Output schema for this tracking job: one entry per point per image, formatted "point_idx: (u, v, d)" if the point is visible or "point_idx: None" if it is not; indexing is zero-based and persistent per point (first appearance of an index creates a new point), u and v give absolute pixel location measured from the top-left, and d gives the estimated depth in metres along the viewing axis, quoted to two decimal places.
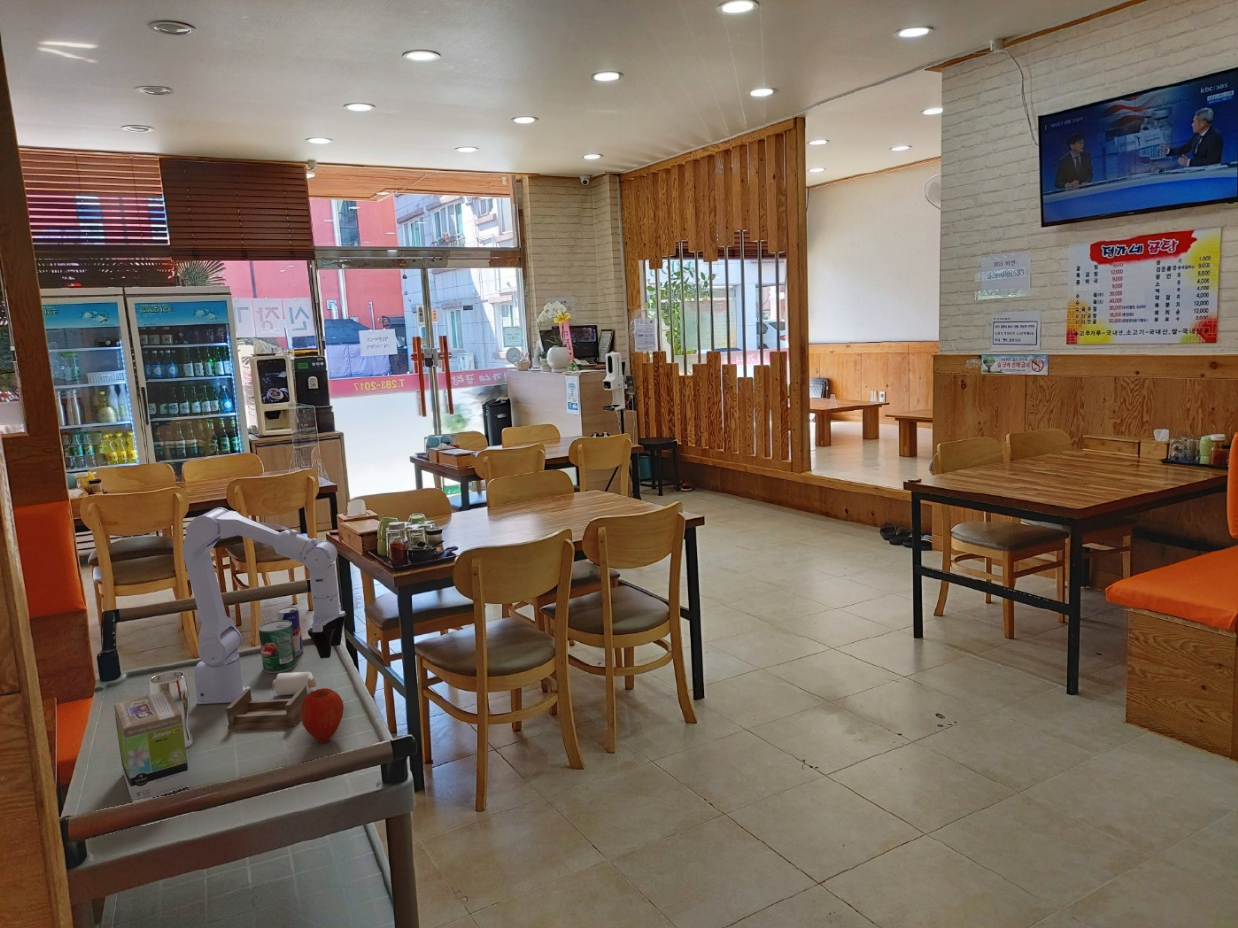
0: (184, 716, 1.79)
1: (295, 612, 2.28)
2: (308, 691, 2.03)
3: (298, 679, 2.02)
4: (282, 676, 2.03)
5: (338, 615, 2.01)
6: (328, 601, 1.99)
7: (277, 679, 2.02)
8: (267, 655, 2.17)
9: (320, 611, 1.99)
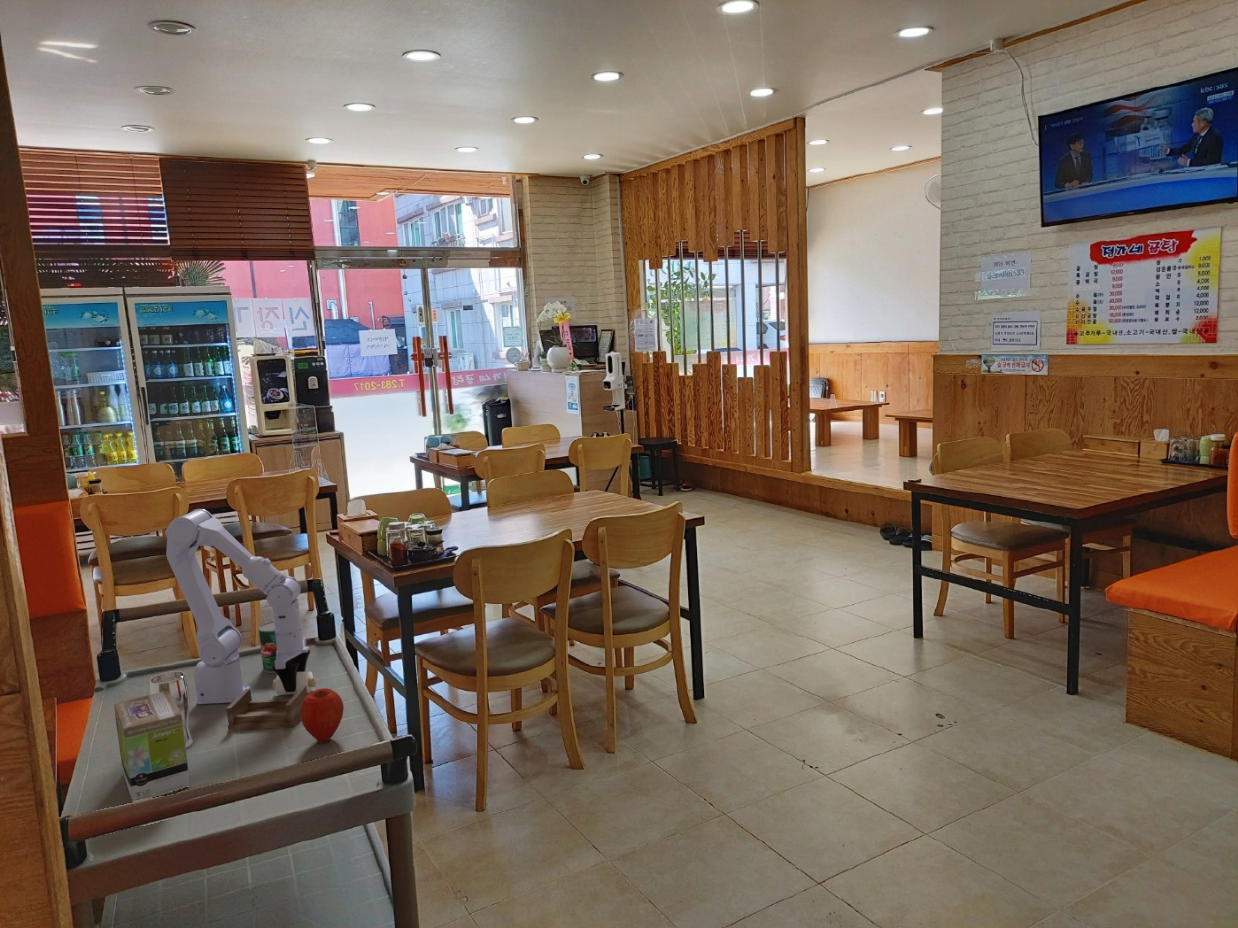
0: (184, 716, 1.79)
1: None
2: (308, 690, 2.03)
3: (298, 678, 2.02)
4: None
5: (302, 651, 2.02)
6: (291, 637, 2.00)
7: (277, 678, 2.03)
8: (267, 655, 2.17)
9: (283, 647, 2.00)
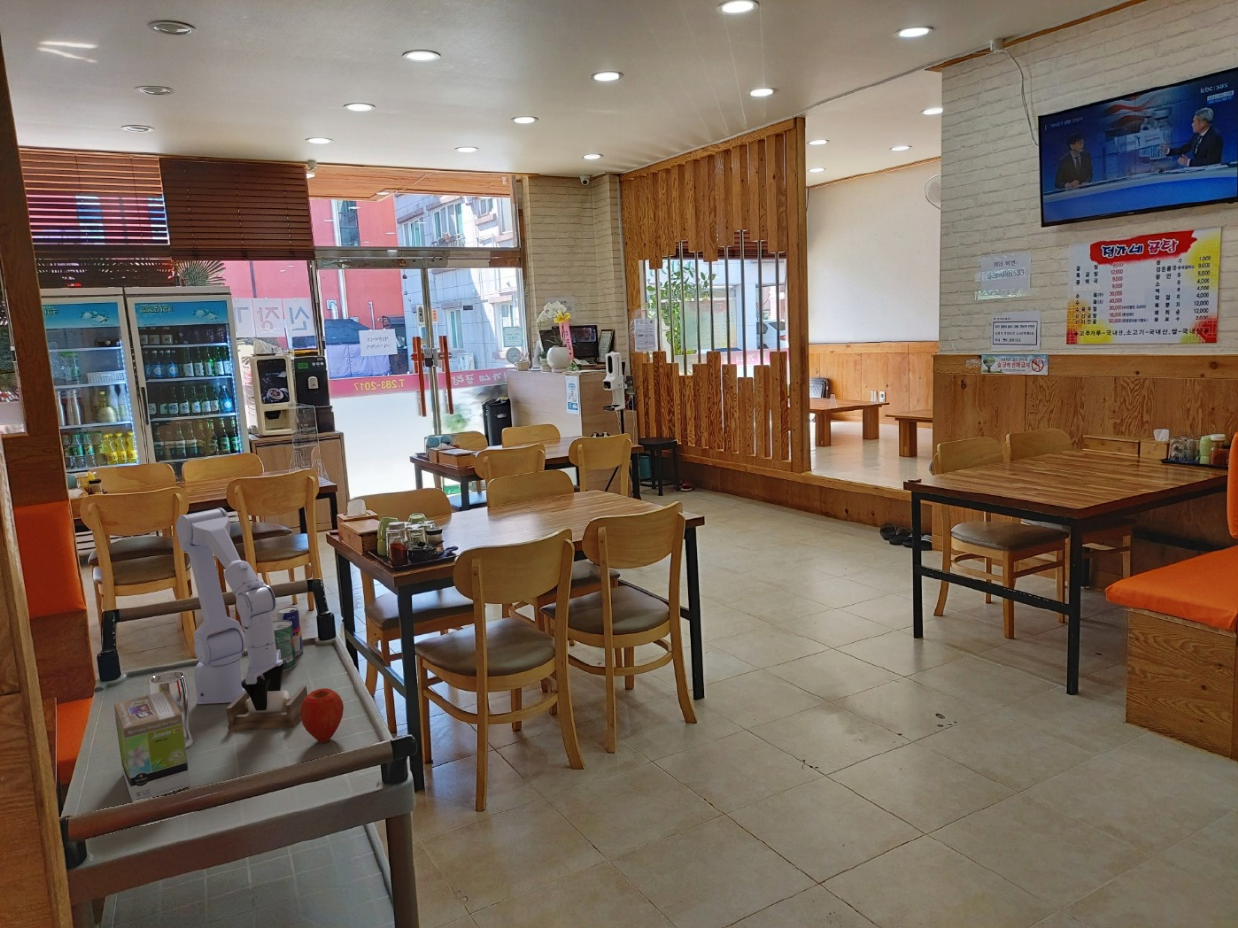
0: (184, 716, 1.79)
1: (295, 612, 2.28)
2: (284, 711, 1.91)
3: (272, 700, 1.89)
4: None
5: (275, 664, 1.89)
6: (263, 650, 1.87)
7: (250, 699, 1.89)
8: None
9: (255, 660, 1.87)
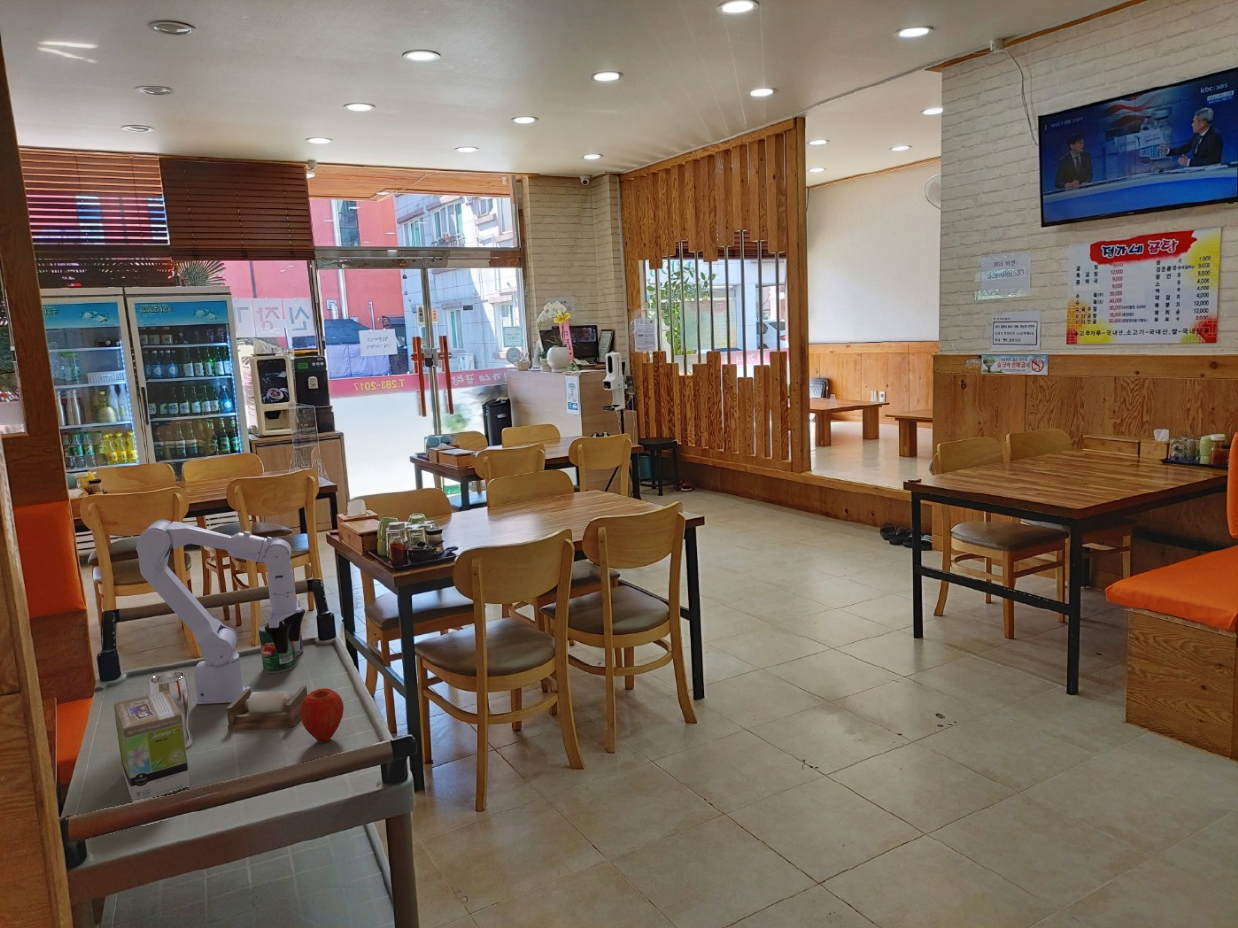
0: (184, 716, 1.79)
1: None
2: (284, 711, 1.91)
3: (272, 700, 1.89)
4: (255, 695, 1.90)
5: (295, 611, 2.05)
6: (285, 597, 2.03)
7: (250, 699, 1.89)
8: (267, 655, 2.17)
9: (277, 607, 2.03)
